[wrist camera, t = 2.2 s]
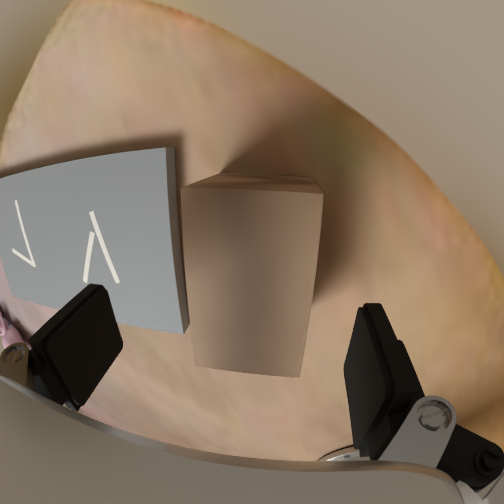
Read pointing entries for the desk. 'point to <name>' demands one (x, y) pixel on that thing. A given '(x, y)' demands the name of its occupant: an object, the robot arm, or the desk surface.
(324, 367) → the desk surface
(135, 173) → the slate board
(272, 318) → the block
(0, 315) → the pink plastic figure
